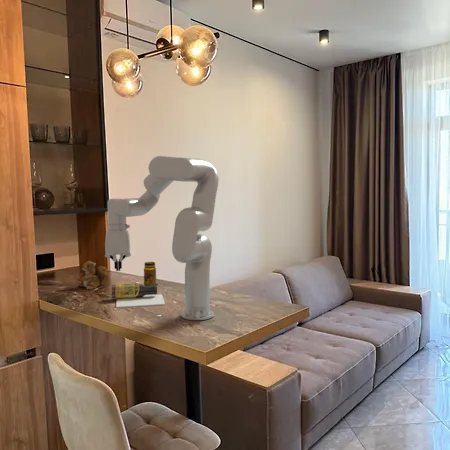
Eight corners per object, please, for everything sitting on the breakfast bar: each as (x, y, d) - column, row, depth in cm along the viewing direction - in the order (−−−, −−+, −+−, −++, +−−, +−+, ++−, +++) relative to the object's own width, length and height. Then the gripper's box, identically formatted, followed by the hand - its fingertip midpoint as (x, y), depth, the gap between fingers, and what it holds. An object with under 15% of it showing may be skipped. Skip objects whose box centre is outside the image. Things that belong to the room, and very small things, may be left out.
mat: (164, 304, 179) (164, 303, 179) (116, 307, 174) (116, 306, 174) (162, 295, 194) (161, 294, 194) (117, 297, 190) (117, 296, 190)
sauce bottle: (111, 282, 185) (156, 279, 190) (111, 288, 190) (156, 285, 195) (111, 295, 182) (157, 292, 186) (111, 302, 187) (157, 298, 191)
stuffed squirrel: (76, 286, 212) (75, 260, 210) (103, 282, 220) (102, 257, 219) (83, 290, 204) (82, 263, 203) (111, 286, 212) (110, 260, 211)
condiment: (142, 287, 209) (141, 263, 208) (144, 283, 218) (144, 260, 217) (157, 287, 210) (156, 263, 209) (159, 283, 218) (158, 260, 217)
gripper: (135, 226, 185) (135, 268, 186) (99, 227, 181) (100, 269, 183) (135, 228, 177) (136, 271, 179) (98, 229, 174) (99, 273, 176)
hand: (118, 270), depth 181 cm, fingers closed
